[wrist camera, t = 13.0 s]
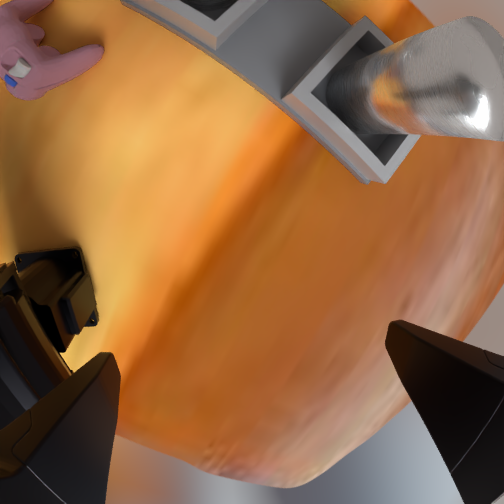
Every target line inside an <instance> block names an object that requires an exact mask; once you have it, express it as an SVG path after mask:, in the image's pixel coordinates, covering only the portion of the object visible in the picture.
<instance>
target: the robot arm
mask: <svg viewBox="0 0 504 504" xmlns="http://www.w3.org/2000/svg"><path fill="white" fill-rule="evenodd" d="M74 252H76V253H77V254H78V256H75V255H74ZM19 257H20V258H21V260H22V261H20V259H19ZM15 262H16V265H15V263H14V261H13V262H10V263H8V264H6V263H3V264H0V504H105V500H106V491H107V482H108V475H109V468H110V461H111V454H112V448H113V442H114V436H115V430H116V425H117V418H118V405H119V392H120V381H121V376H120V371H119V368H118V366H117V363H116V360H115V357H114V355H113V354H112V353H111V352H100V353H99V354H97V355H96V356H95V357H93V358H92V359H91V360H90V361H88V362H87V363H86V364H85V365H83V366H82V367H81V368H79V369H78V370H77V371H76V372H73V371H72V370H70V369H69V367H68V366H67V364H66V362H65V361H64V359H63V358H62V356H61V355H60V353H64V352H66V350H67V348H68V346H69V345H70V343H71V341H72V339H73V338H74V336H75V335H79V334H80V332H81V331H82V329H83V327H92V326H96V325H97V324H98V321H99V318H98V314H97V311H96V305H97V303H96V300H95V296H94V292H93V288H92V284H91V280H90V276H89V275H88V274H87V272H86V267H85V263H84V258H83V253H82V250H81V249H80V248H79V247H66V248H57V249H48V250H39V251H30V252H21V253H18V254H17V255H16V256H15ZM16 266H17V268H16ZM16 270H18V274H17V272H16ZM90 318H92V319H94V321H92V320H91V319H90ZM385 346H386V349H387V351H388V354H389V356H390V358H391V360H392V363H393V365H394V367H395V369H396V372H397V374H398V376H399V378H400V380H401V382H402V384H403V386H404V388H405V390H406V391H407V393H408V395H409V397H410V398H411V400H412V402H413V404H414V405H415V407H416V409H417V411H418V413H419V414H420V416H421V418H422V420H423V421H424V424H425V425H426V427H427V429H428V431H429V433H430V435H431V437H432V439H433V440H434V442H435V444H436V446H437V448H438V450H439V452H440V454H441V456H442V458H443V460H444V462H445V464H446V466H447V468H448V470H449V472H450V473H451V476H452V478H453V480H454V482H455V485H456V487H457V489H458V491H459V493H460V495H461V497H462V500H463V502H464V504H493V503H495V502H496V501H497V500H498V499H500V497H502V496H503V495H504V356H501V355H498V354H495V353H492V352H489V351H487V350H483V349H481V348H478V347H475V346H473V345H470V344H467V343H464V342H461V341H459V340H456V339H453V338H450V337H448V336H445V335H442V334H439V333H437V332H434V331H431V330H428V329H426V328H423V327H420V326H417V325H415V324H412V323H409V322H406V321H404V320H396V321H392V322H390V324H389V326H388V331H387V336H386V340H385Z"/></svg>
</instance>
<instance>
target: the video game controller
mask: <svg viewBox="0 0 504 504" xmlns="http://www.w3.org/2000/svg"><path fill="white" fill-rule="evenodd" d="M52 1H53V0H13V1H10V2H8V3H5V4H3V5H2V6H0V77H1V78H2V79H3V80H4V81H5V83H6V88H7V90H8V91H9V92H10V93H11V94H12V95H13V96H15V97H17V98H19V99H23V100H35V99H38V98H41V97H42V96H44V94H45V93H46V92H47V91H49V90H51V89H53V88H55V87H58V86H60V85H62V84H64V83H66V82H68V81H70V80H72V79H74V78H75V77H77V76H79V75H81V74H82V73H84V72H86V71H87V70H89V69H90V68H91V67H92V66H94V65H95V64H96V63H97V62H98V61H99V60H100V59H101V58H102V55H103V53H104V48H103V47H102V46H101V45H99V44H92V45H86V46H83V47H81V48H78V49H75V50H73V51H70V52H68V53H65V54H62V55H61V54H60V53H59V51H58V50H56V49H55V48H53V47H50V46H40V47H38V45H39V44H40V42H41V40H42V39H43V37H44V35H45V33H44V30H43V29H42V28H41V27H39V26H37V25H34V24H28V23H24V21H26V20H27V19H28V18H30V17H31V16H33V15H35V14H36V13H38V12H40V11H41V10H43V9H44V8H45V7H47V6H48V5H49V4H50V3H51V2H52Z"/></svg>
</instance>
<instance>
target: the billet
mask: <svg viewBox="0 0 504 504" xmlns="http://www.w3.org/2000/svg"><path fill="white" fill-rule="evenodd" d="M326 98H327V104H328V107H329V110H330V111H331V112H332V113H333V114H334V115H335V116H336V117H338V118H339V119H340V120H341V121H342V122H343V123H344V124H345V125H346V126H347V127H348V128H349V129H350V130H351V131H352V132H353V133H357V134H414V135H438V136H454V137H466V138H477V139H487V140H495V141H504V39H503V37H502V36H501V35H500V34H499V33H498V32H497V30H495V29H494V28H493V27H492V26H491V25H490V24H488V23H487V22H485V21H484V20H482V19H480V18H477V17H473V16H468V17H464V18H461V19H458V20H455V21H452V22H449V23H446V24H443V25H440V26H437V27H435V28H432V29H429V30H427V31H424V32H422V33H419V34H416V35H414V36H411V37H409V38H407V39H404V40H402V41H399V42H397V43H395V44H392V45H390V46H388V47H386V48H383V49H381V50H379V51H377V52H375V53H373V54H370V55H368V56H366V57H364V58H362V59H360V60H358V61H356V62H354V63H352V64H350V65H348V66H346V67H344V68H342V69H340V70H338V71H337V72H336V73H335V74H334V75H333V76H332V77H331V79H330V81H329V83H328V86H327V92H326Z"/></svg>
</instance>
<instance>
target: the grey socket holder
mask: <svg viewBox="0 0 504 504" xmlns="http://www.w3.org/2000/svg"><path fill="white" fill-rule="evenodd" d="M120 1H121V3H122V4H123V5H125V6H127V7H128V8H130V9H132V10H134V11H136V12H138V13H140V14H142V15H144V16H145V17H147V18H149V19H151V20H153V21H154V22H156V23H158V24H160V25H161V26H163V27H165V28H166V29H168V30H170V31H171V32H173V33H175V34H176V35H178V36H180V37H181V38H183V39H184V40H186V41H188V42H189V43H191V44H192V45H194V46H195V47H197V48H199V49H200V50H202V51H203V52H205V53H206V54H208V55H209V56H211V57H212V58H213V59H215V60H216V61H218V62H219V63H221V64H222V65H224V66H225V67H226V68H228V69H229V70H231V71H232V72H233V73H235V74H236V75H237V76H239V77H240V78H242V79H243V80H244V81H246V82H247V83H248V84H250V85H251V86H252V87H253V88H255V89H256V90H257V91H259V92H260V93H261V94H263V95H264V96H265V97H266V98H268V99H269V100H270V101H271V102H273V103H274V104H275V105H276V106H278V107H279V108H280V109H281V110H282V111H284V112H285V113H286V114H287V115H288V116H290V117H291V118H292V119H293V120H294V121H295V122H297V123H298V124H299V125H300V126H301V127H302V128H304V129H305V130H306V131H307V132H308V133H309V134H310V135H312V136H313V137H314V138H315V139H316V140H317V141H318V142H319V143H320V144H321V145H323V146H324V147H325V148H326V149H327V150H328V151H329V152H330V153H331V154H332V155H333V156H334V157H335V158H336V159H337V160H339V161H340V162H341V163H342V164H343V165H344V166H345V167H346V168H347V169H348V170H349V171H350V172H351V173H352V174H353V175H354V176H355V177H356V178H357V179H358V180H359V181H360V182H361V183H364V184H367V185H368V183H369V182H370V181H371V180H372V181H376V182H380V183H384V184H386V183H387V181H388V180H389V179H390V177H391V176H392V175H393V173H394V172H395V170H396V169H397V168H398V166H399V165H400V164H401V162H402V161H403V160H404V158H405V157H406V155H407V154H408V153H409V151H410V150H411V149H412V147H413V146H414V144H415V143H416V141H417V140H418V139H419V137H420V136H421V135H414V134H357V133H353V132H352V131H351V130H350V129H349V128H348V127H347V126H346V125H345V124H344V123H343V122H342V121H341V120H340V119H339V118H338V117H336V116H335V115H334V114H333V113H332V112H331V111H330V110H329V107H328V104H327V98H326V92H327V86H328V83H329V81H330V79H331V77H332V76H333V75H334V74H335V73H336V72H337V71H338V70H340V69H342V68H344V67H346V66H348V65H350V64H352V63H354V62H356V61H358V60H360V59H362V58H364V57H366V56H368V55H370V54H373V53H375V52H377V51H379V50H381V49H383V48H386V47H388V46H390V45H392V44H394V43H393V42H392V41H391V40H390V39H389V38H388V37H387V36H386V35H385V34H384V33H383V32H382V31H381V30H380V29H379V28H378V27H377V26H376V25H375V24H374V23H373V22H372V21H371V20H369V19H368V18H367V17H366V16H364V17H363V18H361V19H360V20H358V21H357V22H356V23H354V24H353V25H350V24H349V23H348V22H347V21H346V20H345V19H343V18H342V17H341V16H340V15H339V14H338V13H336V12H335V11H334V10H333V9H331V8H330V7H329V6H328V5H326V4H325V3H324V2H323V1H321V0H237V1H235V2H234V3H232V4H231V5H229V6H227V7H224V8H221V9H217V10H209V11H202V10H195V9H194V8H192V7H190V6H189V5H187V4H185V3H183V2H181V1H180V0H120Z"/></svg>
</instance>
